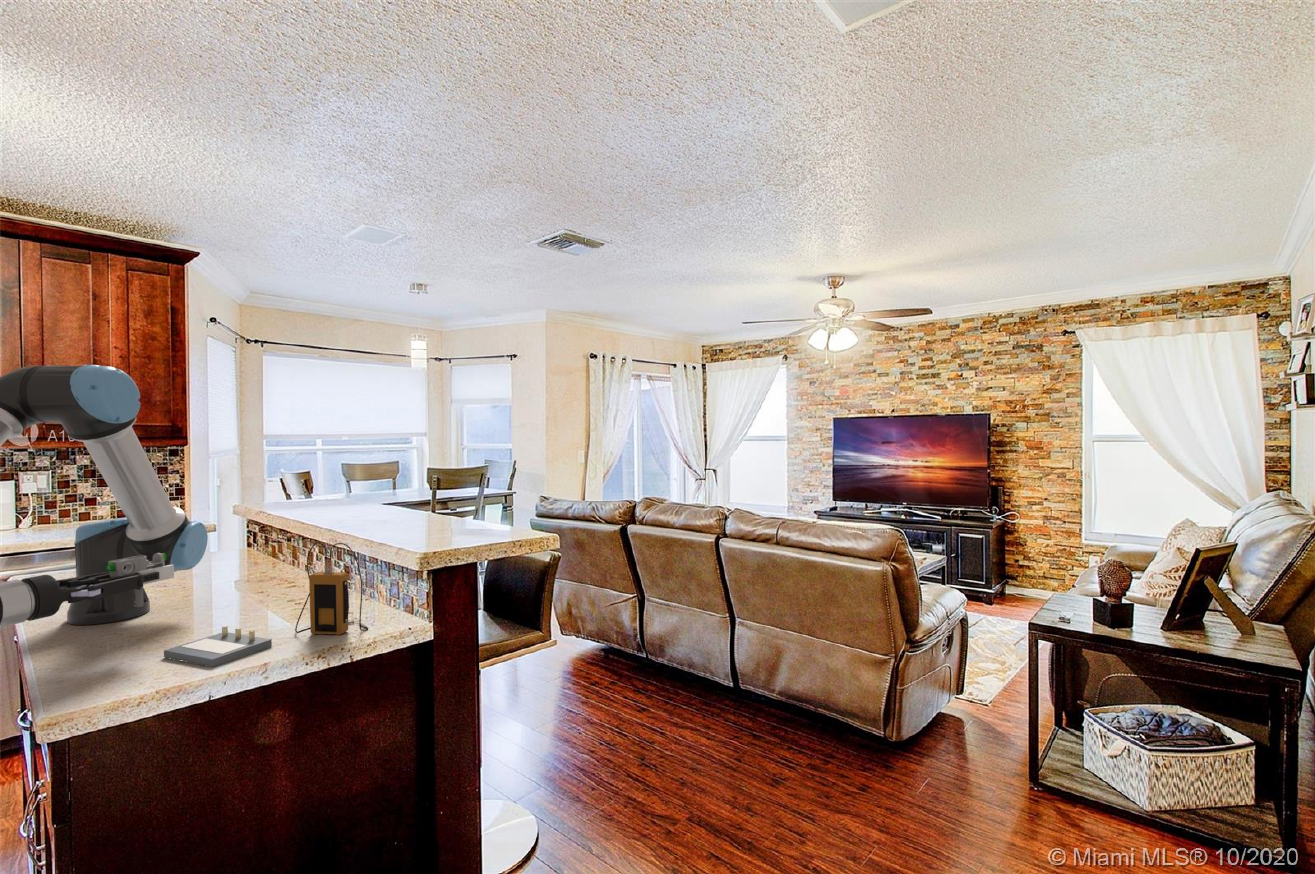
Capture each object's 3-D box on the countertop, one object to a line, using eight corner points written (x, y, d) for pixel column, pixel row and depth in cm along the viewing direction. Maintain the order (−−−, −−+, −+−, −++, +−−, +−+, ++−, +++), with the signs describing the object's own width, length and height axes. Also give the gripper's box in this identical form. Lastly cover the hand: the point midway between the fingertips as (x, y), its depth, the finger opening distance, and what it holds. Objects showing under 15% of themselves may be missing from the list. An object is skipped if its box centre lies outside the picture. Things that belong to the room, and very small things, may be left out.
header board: (163, 657, 126) (163, 640, 126) (224, 638, 137) (224, 622, 137) (212, 667, 121) (212, 648, 121) (271, 646, 132) (271, 629, 132)
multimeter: (382, 621, 148) (380, 535, 148) (357, 636, 138) (356, 543, 138) (321, 620, 150) (320, 534, 149) (293, 634, 140) (291, 542, 139)
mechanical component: (170, 600, 134) (168, 552, 134) (114, 614, 124) (112, 562, 124) (160, 598, 135) (159, 551, 135) (104, 612, 125) (102, 561, 125)
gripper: (-2, 616, 116) (143, 584, 138) (51, 626, 110) (193, 591, 132) (-4, 575, 116) (142, 549, 138) (49, 583, 110) (192, 555, 132)
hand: (166, 570), depth 135 cm, fingers closed on mechanical component, 3 cm apart
